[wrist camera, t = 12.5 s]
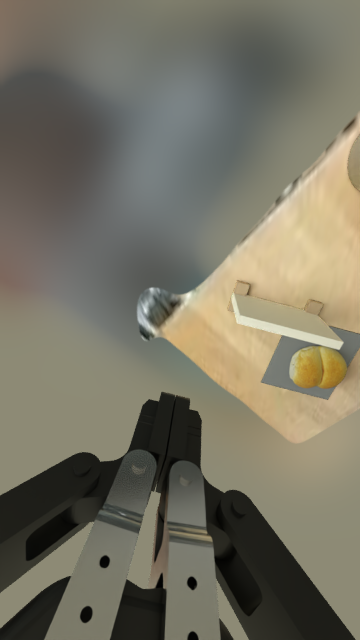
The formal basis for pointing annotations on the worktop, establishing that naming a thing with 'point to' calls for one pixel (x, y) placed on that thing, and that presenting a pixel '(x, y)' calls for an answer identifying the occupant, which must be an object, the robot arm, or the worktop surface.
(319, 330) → the screen
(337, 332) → the mat
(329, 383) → the bread roll
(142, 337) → the worktop surface
